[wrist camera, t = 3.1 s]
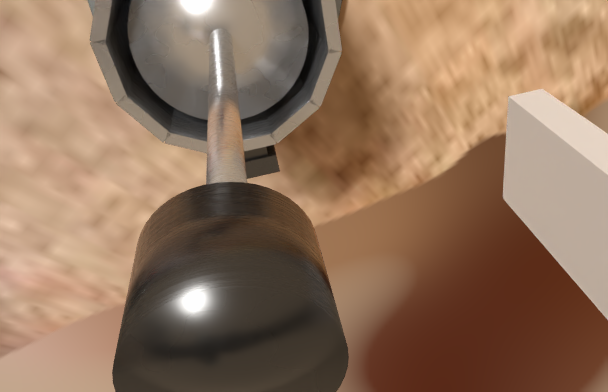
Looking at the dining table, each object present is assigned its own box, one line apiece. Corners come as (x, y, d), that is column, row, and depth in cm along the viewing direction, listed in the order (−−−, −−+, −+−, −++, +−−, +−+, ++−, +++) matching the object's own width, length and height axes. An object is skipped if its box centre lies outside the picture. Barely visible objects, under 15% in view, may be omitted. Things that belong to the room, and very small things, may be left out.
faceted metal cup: (171, 114, 36) (156, 210, 26) (99, -89, 29) (39, -64, 19) (320, 80, 36) (361, 162, 26) (285, -129, 29) (323, -125, 19)
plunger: (164, 129, 26) (87, 546, 10) (101, -40, 21) (-216, 236, 6) (318, 94, 26) (478, 449, 10) (288, -80, 21) (492, 74, 6)
